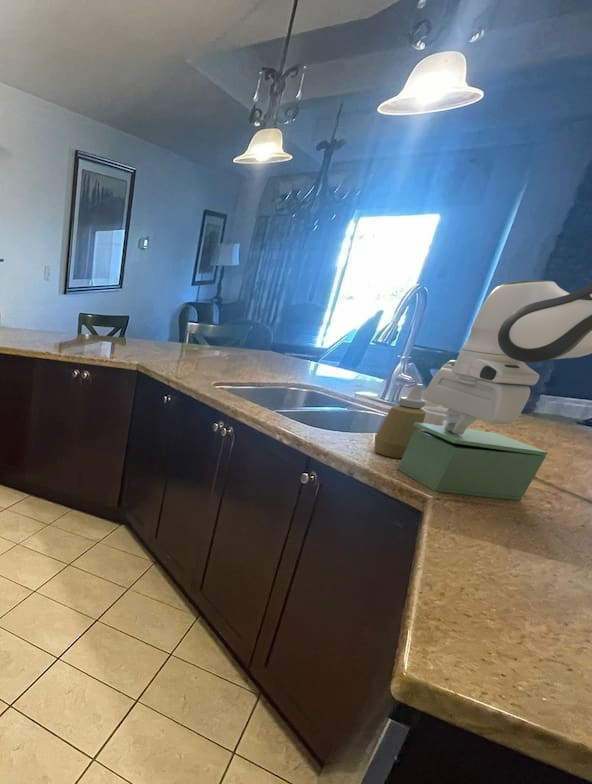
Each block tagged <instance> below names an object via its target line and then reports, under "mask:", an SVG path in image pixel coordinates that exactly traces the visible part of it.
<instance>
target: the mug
mask: <svg viewBox="0 0 592 784" xmlns="http://www.w3.org/2000/svg"><path fill="white" fill-rule="evenodd" d="M421 409H423V410H424V411H425V412H426V415H425V418H424V422H423V423H425V424H433V425H440V426H446V424H447V416H446V413H447V410H448V408H447V407H439V406H424V407H423V408H421ZM460 419H461V418H460ZM421 430H423V429H421Z"/></svg>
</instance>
